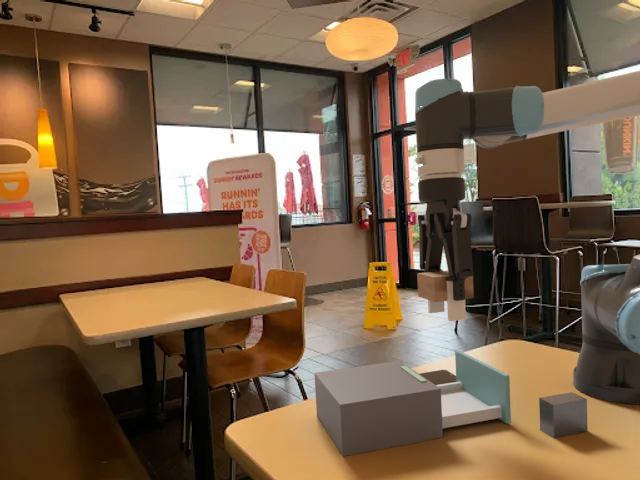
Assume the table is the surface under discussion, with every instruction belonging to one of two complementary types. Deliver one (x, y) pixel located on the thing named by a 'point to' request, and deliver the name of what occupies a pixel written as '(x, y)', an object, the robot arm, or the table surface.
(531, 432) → the table surface
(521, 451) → the table surface
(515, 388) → the table surface
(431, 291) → the walnut block
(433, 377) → the smartphone
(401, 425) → the housing
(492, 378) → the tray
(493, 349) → the table surface
